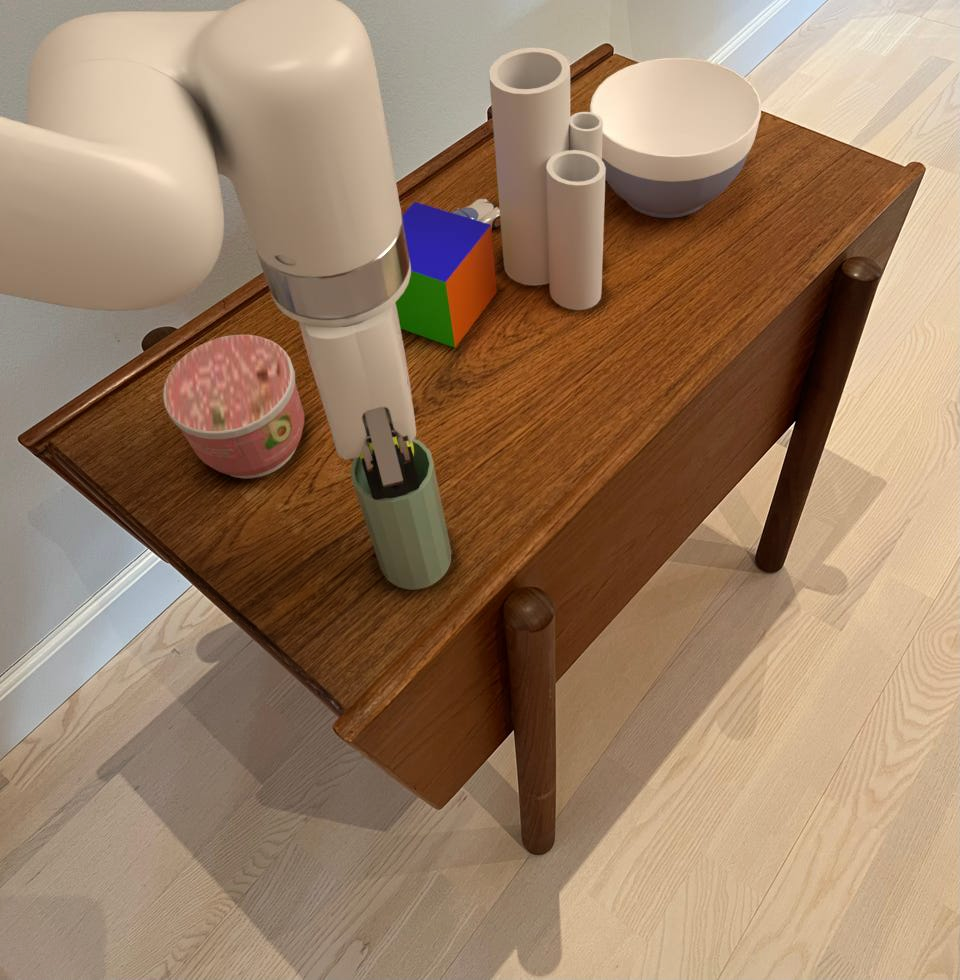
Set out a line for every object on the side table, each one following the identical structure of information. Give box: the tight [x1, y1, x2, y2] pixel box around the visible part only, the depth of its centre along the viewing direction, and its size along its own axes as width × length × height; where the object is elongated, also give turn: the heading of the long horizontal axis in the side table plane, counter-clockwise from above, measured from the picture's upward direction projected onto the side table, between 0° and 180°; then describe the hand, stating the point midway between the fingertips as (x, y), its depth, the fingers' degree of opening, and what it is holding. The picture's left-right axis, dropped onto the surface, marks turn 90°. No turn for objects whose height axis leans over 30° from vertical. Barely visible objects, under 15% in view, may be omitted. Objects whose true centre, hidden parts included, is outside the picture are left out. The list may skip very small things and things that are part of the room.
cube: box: [395, 201, 498, 349], centre depth 86 cm, size 8×8×8 cm
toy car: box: [451, 198, 501, 230], centre depth 94 cm, size 4×12×3 cm, turn 127°
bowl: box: [589, 57, 762, 219], centre depth 93 cm, size 16×16×10 cm
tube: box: [349, 438, 452, 591], centre depth 69 cm, size 6×6×12 cm
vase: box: [488, 47, 606, 311], centre depth 83 cm, size 11×7×20 cm, turn 50°
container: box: [162, 334, 305, 479], centre depth 78 cm, size 10×10×8 cm
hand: (389, 464), depth 63 cm, fingers closed on ball, 3 cm apart
